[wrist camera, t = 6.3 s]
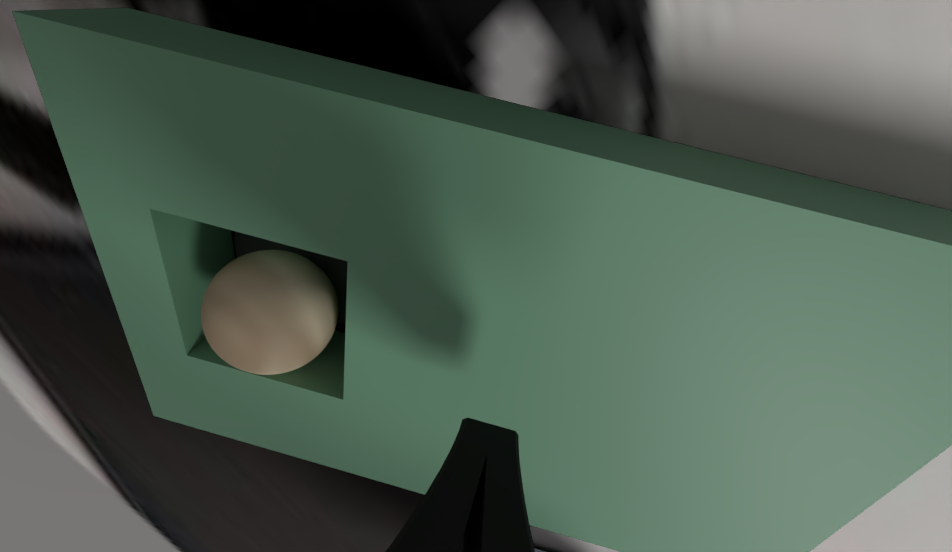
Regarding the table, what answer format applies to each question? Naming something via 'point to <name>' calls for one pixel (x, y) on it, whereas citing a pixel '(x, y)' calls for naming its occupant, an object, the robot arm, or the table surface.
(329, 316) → the maple ball
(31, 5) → the table surface
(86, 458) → the table surface
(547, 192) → the putting board
